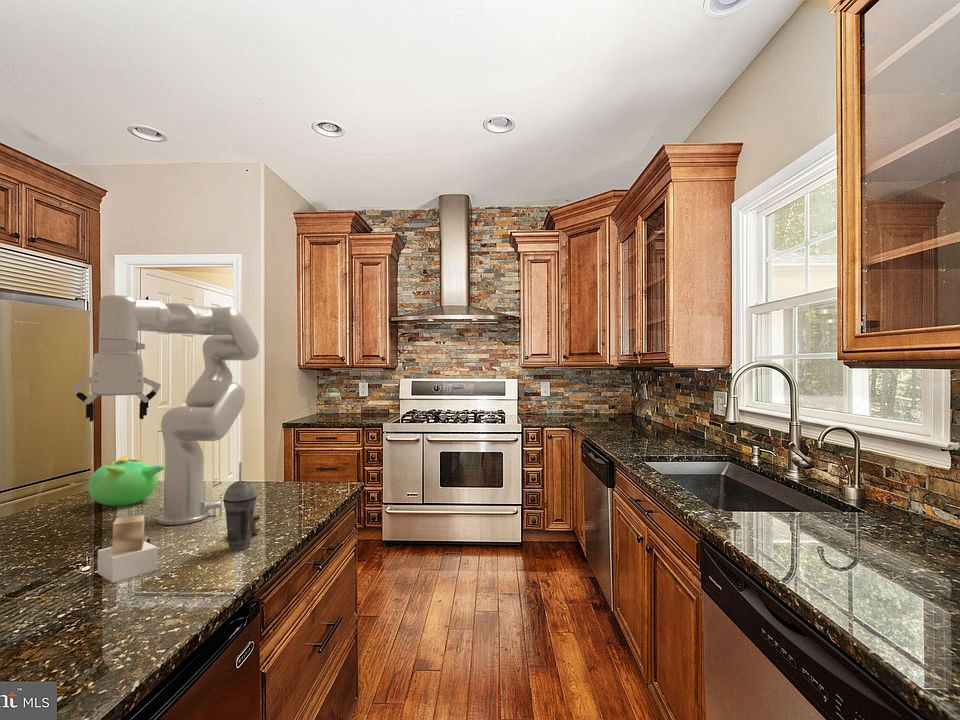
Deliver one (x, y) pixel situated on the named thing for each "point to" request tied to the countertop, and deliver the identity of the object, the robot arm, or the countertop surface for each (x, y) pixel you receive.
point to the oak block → (128, 534)
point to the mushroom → (255, 519)
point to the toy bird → (123, 482)
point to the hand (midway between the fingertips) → (117, 419)
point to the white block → (127, 562)
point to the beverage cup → (239, 512)
